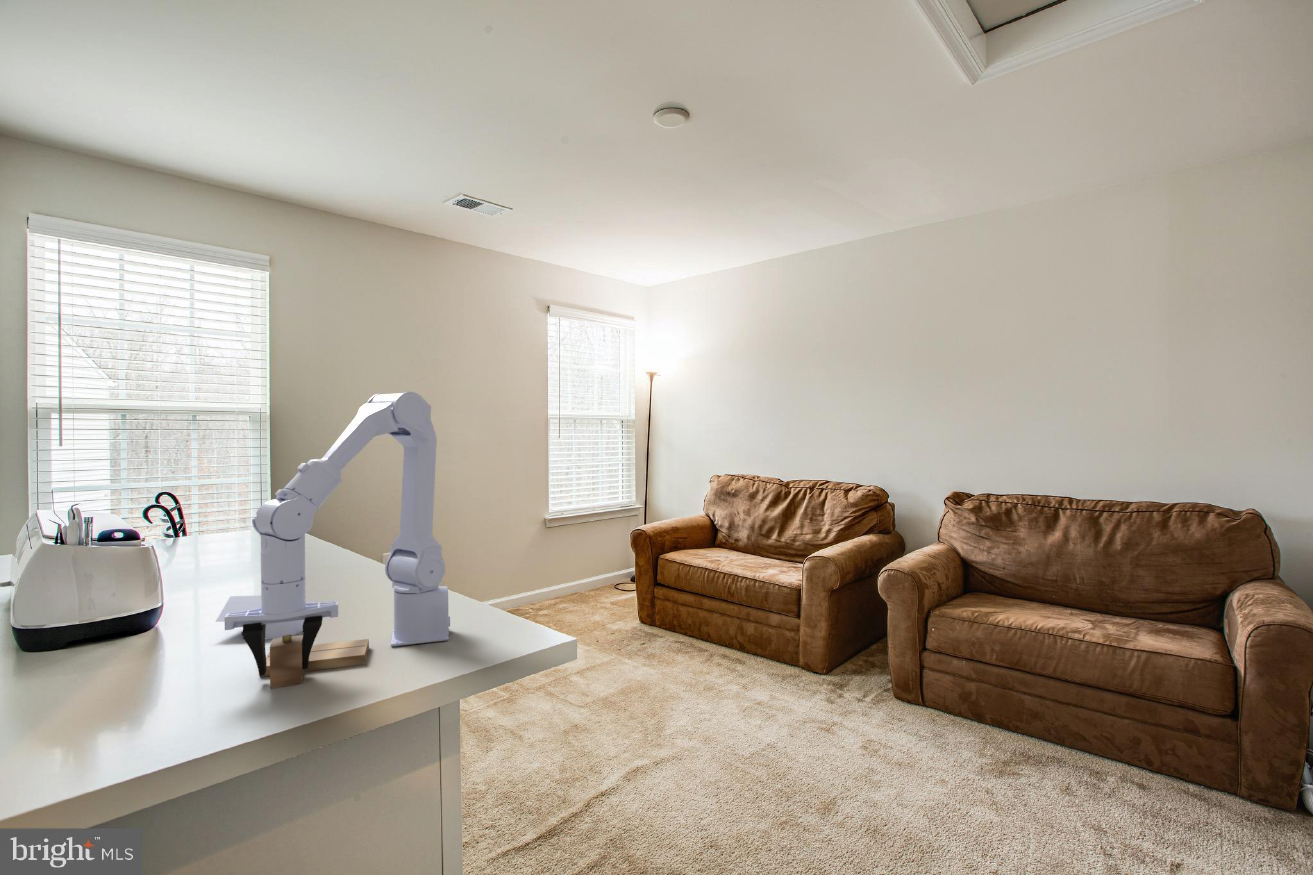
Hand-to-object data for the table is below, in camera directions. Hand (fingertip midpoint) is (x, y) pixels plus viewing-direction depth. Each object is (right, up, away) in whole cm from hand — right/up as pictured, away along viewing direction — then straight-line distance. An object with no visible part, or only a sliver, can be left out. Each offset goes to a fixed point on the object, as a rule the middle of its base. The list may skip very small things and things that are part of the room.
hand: (284, 669), depth 93 cm
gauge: (0, -1, +2) cm, 2 cm away
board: (+1, -1, +7) cm, 8 cm away
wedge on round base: (-17, -1, +23) cm, 28 cm away
